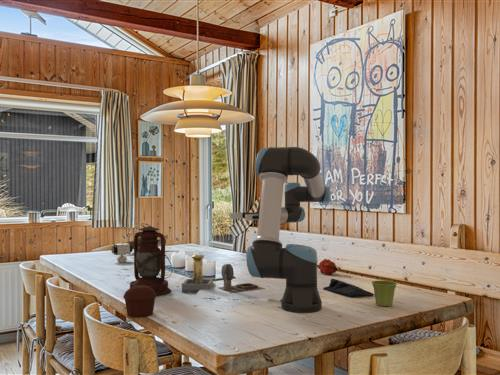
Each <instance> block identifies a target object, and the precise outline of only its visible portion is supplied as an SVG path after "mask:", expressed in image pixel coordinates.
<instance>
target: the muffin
mask: <svg viewBox="0 0 500 375" xmlns="http://www.w3.org/2000/svg"><path fill="white" fill-rule="evenodd" d="M156 296H157V295H156V293H155V291H154V290H153V289H152V288H150V287H148V286H144V285H138V286H133V287H131V288H130V287H129V288H128V289H127V290H126V291H125V292H124V294H123V297H122V298H123V299H124V302H125V309H126V313H127V314H126V316H128V317H130V318H138V319H139V318H146V317H151V316H152V315H153V314H154V308H155V302H156V298H157V297H156Z"/></svg>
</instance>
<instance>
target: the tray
mask: <svg viewBox="0 0 500 375" xmlns="http://www.w3.org/2000/svg"><path fill="white" fill-rule="evenodd" d="M213 284H214V279H213V278H202V284H193V278H186V279H185V280H184V281H183V282H182V283H181V293H199V291H200V290H210V289H211V288H212V286H213Z"/></svg>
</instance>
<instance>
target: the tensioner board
mask: <svg viewBox="0 0 500 375" xmlns="http://www.w3.org/2000/svg"><path fill="white" fill-rule="evenodd" d="M234 275H235V274H234V268H233V265H232V264H231V263H224V264H223V265H222V267H221V276H222V280H223V286H220V287H217V289H219V290H222V291H225V292H228V293H231V294H236V293H245V292H251V291H260V290H266V288H265V287H262V286H258V285H257V284H254V283H250V282H249V283H247V282H246V283H239V284H235V285H232V280H233V279H234Z"/></svg>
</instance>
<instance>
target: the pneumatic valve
mask: <svg viewBox="0 0 500 375" xmlns="http://www.w3.org/2000/svg"><path fill="white" fill-rule="evenodd" d="M123 243H124V244H123ZM110 249H111V253H112V254H113V255H114V256H118V257H117V258H116V260H117V262H118V263H126V262H127V261H128V258H127V256H126V255H131V253H132V252H133V251H134V249H133V248H132V245H130V244H129V243H125V242H123V241H121V242H120V243H114V244H113V246H111V248H110Z"/></svg>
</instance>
